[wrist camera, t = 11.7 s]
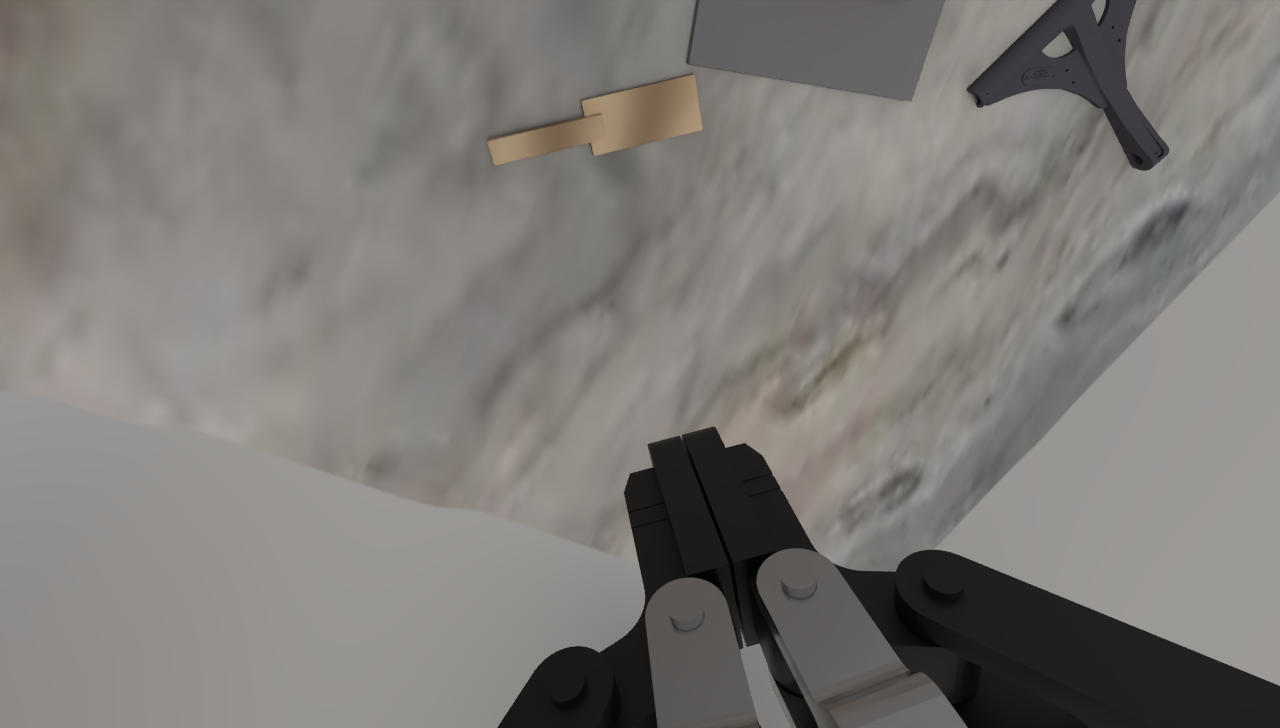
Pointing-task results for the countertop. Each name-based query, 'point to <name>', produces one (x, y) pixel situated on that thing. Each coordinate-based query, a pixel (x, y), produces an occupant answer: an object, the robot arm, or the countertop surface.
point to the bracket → (1078, 71)
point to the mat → (819, 41)
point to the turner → (612, 122)
